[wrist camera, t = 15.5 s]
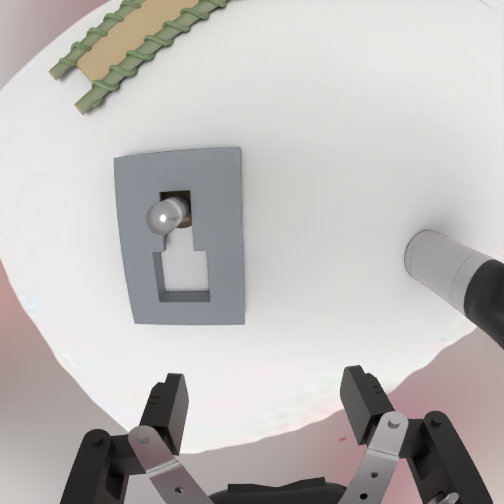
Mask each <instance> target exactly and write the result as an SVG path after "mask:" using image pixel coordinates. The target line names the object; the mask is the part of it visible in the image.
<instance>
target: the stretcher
mask: <svg viewBox="0 0 504 504" xmlns="http://www.w3.org/2000/svg"><path fill="white" fill-rule="evenodd" d="M226 1H227V0H124V1H122V3H121V5H120V8H119V10H117V11H116V12H115V13H114V14H112V13H108V14H106V15H105V17H104V19H103V23H101V24H100V25H99V26H98V27H97V28H90V29H89V30H88V31H87V36H86V37H85V38H84V39H83V40H82V41H81V42H75V43H73V44H72V46H71V52H70V53H69V54H68V55H67V56H65V57H64V58H61V59H60V60H59V62H58V63H57V64H56V65H55V66H54V67H53V68H52V69H51V70H50V71H49V73H50V74H51V76H52V77H53V78H54V79H55V80H57V79H58V78H59V77H60V76H62V75H63V74H64V73H65V72H66V71H67V70H68V69H69V68H70V67H75V66H78V68H79V69H80V70H81V71H82V72H83V73H84V74H85V76H86V77H87V78H88V79H89V80H90V81H91V83H92V89H91V90H90V91H89V92H88V93H87V94H85V95H84V96H83V97H82V98H81V99H80V100H79V101H78V102H77V103H76V104H74V105H75V107H76V108H77V109H78V110H79V111H80V112H81V114H82V115H84V114H85V113H86V112H87V111H88V110H89V109H90V108H91V107H93V108H96V107H98V106H99V105H100V104H101V102H102V97H103V96H104V95H106V94H107V93H108V92H109V91H114V90H116V89H117V88H118V86H119V81H120V80H122V79H123V78H124V77H125V76H127V77H130V76H133V75H135V73H136V71H137V67H136V66H138V65H139V64H140V63H141V62H143V61H144V60H151V59H152V58H153V57H154V55H155V53H154V52H155V51H156V50H157V49H159V48H160V47H161V46H162V45H163V46H167V45H170V44H171V43H172V42H173V37H174V36H176V35H177V34H179V33H180V32H181V31H189V30H190V28H191V26H190V25H191V24H193V23H194V22H195V21H197V20H198V19H200V18H201V19H207V18H208V17H209V12H210V11H212V10H213V9H215V8H216V7H218V6H220V7H225V6H226Z"/></svg>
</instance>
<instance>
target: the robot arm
mask: <svg viewBox="0 0 504 504" xmlns="http://www.w3.org/2000/svg"><path fill="white" fill-rule="evenodd" d="M405 266H406V269H407V271H408V273H409V274H410V275H411V276H412V277H414V278H415V279H417V280H418V281H419V282H421V283H422V284H423V285H425V286H426V287H427V288H429V289H430V290H431V291H433V292H434V293H435V294H437V295H438V296H439V297H441V298H442V299H443V300H445V301H446V302H447V303H449V304H450V305H451V306H453V307H454V308H455V309H457V310H458V311H459V312H460V313H462V314H463V315H464V316H466V317H467V318H468V319H469V320H470V321H472V322H473V323H474V324H476V325H477V326H478V327H480V328H481V329H482V330H483V331H485V332H486V333H487V334H488V335H489V336H490V337H491V338H492V339H493V340H495V341H496V342H497V343H498V344H499V345H500V346H501V347H502V349H503V350H504V264H503V263H502V262H499V261H497V260H495V259H493V258H491V257H489V256H487V255H485V254H483V253H480V252H478V251H476V250H474V249H472V248H469V247H467V246H465V245H463V244H460V243H458V242H456V241H454V240H451V239H449V238H447V237H444V236H442V235H440V234H437V233H435V232H432V231H422V232H420V233H418V234H417V235H416V236H414V238H413V239H412V240H411V241H410V243H409V245H408V247H407V250H406V254H405ZM340 397H341V401H342V403H343V406H344V408H345V411H346V414H347V416H348V419H349V421H350V424H351V426H352V429H353V432H354V434H355V437H356V440H357V443H358V445H363V444H366V445H367V450H366V452H365V454H364V456H363V458H362V460H361V462H360V464H359V466H358V468H357V470H356V472H355V474H354V476H353V478H352V480H351V481H350V483H349V485H348V487H345V486H343V485H339V484H336V483H330V482H325V478H324V477H320V478H313V479H307V480H300V481H297V482H294V483H291V484H288V485H284V486H281V487H269V486H262V485H256V484H228V489H227V490H222V491H219V492H216V493H214V494H212V495H210V496H207V495H206V493H205V492H204V491H203V490H202V489H201V488H200V487H199V485H198V484H197V483H196V482H195V480H194V479H193V478H192V477H191V475H190V474H189V473H188V472H187V470H186V469H185V468H184V466H183V465H182V464H181V463H180V462H179V461H177V460H176V459H175V457H174V456H173V455H177V456H178V455H179V452H180V446H181V441H182V436H183V431H184V425H185V420H186V415H187V410H188V404H189V398H188V392H187V387H186V383H185V378H184V375H183V374H175V373H168V375H167V377H166V380H165V383H161V382H158V383H157V384H156V385H155V386H154V387H153V388H152V390H151V393H150V395H149V398H148V401H147V404H146V407H145V409H144V412H143V415H142V418H141V421H140V424H139V426H137V427H135V428H133V429H132V430H131V431H130V432H129V434H127V435H118V436H110V435H109V433H107V432H106V431H105V430H101V429H94V430H91V431H89V432H87V433H86V434H85V436H84V438H83V440H82V443H81V445H80V448H79V451H78V453H77V456H76V459H75V461H74V464H73V466H72V469H71V472H70V475H69V478H68V480H67V483H66V486H65V489H64V492H63V495H62V499H61V502H60V504H124V499H125V494H126V489H127V484H128V479H129V475H136V474H147V475H148V477H149V478H150V480H151V481H152V483H153V484H154V486H155V488H156V489H157V491H158V492H159V494H160V495H161V497H162V498H163V500H164V501H165V503H166V504H380V503H381V501H382V499H383V497H384V495H385V492H386V490H387V488H388V485H389V483H390V480H391V478H392V476H393V473H394V471H395V468H396V466H397V463H398V460H399V458H406V459H407V462H408V464H409V467H410V469H411V472H412V475H413V478H414V480H415V483H416V485H417V488H418V491H419V494H420V497H421V499H422V502H423V504H493V501H492V499H491V497H490V494H489V492H488V490H487V489H486V486H485V484H484V482H483V481H482V478H481V476H480V474H479V472H478V470H477V468H476V467H475V465H474V463H473V461H472V459H471V457H470V455H469V453H468V451H467V450H466V448H465V446H464V444H463V443H462V441H461V439H460V437H459V435H458V434H457V432H456V430H455V429H454V427H453V425H452V423H451V422H450V420H449V419H448V417H447V416H446V415H445V414H444V413H442V412H440V411H431V412H429V413H427V414H426V415H425V417H424V419H407V417H406V416H405V415H404V414H402V413H399V412H396V411H395V410H394V408H393V406H392V404H391V403H390V401H389V399H388V397H387V395H386V394H385V392H384V390H383V388H382V387H381V385H380V383H379V381H378V380H377V378H376V377H374V376H373V375H372V374H370V373H367V374H365V373H364V371H363V369H362V367H361V366H360V365H356V366H349V367H345V369H344V373H343V378H342V382H341V387H340Z"/></svg>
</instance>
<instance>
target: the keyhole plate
mask: <svg viewBox="0 0 504 504" xmlns="http://www.w3.org/2000/svg"><path fill="white" fill-rule="evenodd" d="M114 177H115V193H116V206H117V217H118V227H119V235H120V243H121V251H122V258H123V264H124V271H125V277H126V283H127V288H128V294H129V299H130V304H131V309H132V313H133V318H134V323H135V324H158V325H244V324H245V311H244V279H243V245H242V207H241V163H240V147H229V148H208V149H192V150H179V151H168V152H158V153H149V154H140V155H132V156H125V157H118V158H114ZM182 190H190V193H191V212H192V229H193V243H194V251H206V250H207V263H208V277H209V290H210V291H193V292H165V285H164V277H163V269H162V261H161V252H164V251H165V250H166V242H165V235H157V234H155V233H153V232H152V231H150V229H149V228H148V226H147V224H146V214H147V211H148V210H149V208H150V207H151V206H153V205H154V204H157V203H159V202H161V201H162V192H167V191H182Z"/></svg>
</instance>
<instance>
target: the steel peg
mask: <svg viewBox="0 0 504 504" xmlns="http://www.w3.org/2000/svg"><path fill="white" fill-rule="evenodd" d="M146 224H147V226H148V228H149V229H150V231H152V232H153V233H155V234H157V235H166V234H168V233H170V232H171V231H172V230H173V229H174V228H186V227H189V226H191V225H192V212H191V193H190V190H182V191H167V192H164V194H163V195H162V201H161V202H159V203H157V204H154V205H153V206H151V207H150V208H149V210H148V211H147V214H146Z"/></svg>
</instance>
